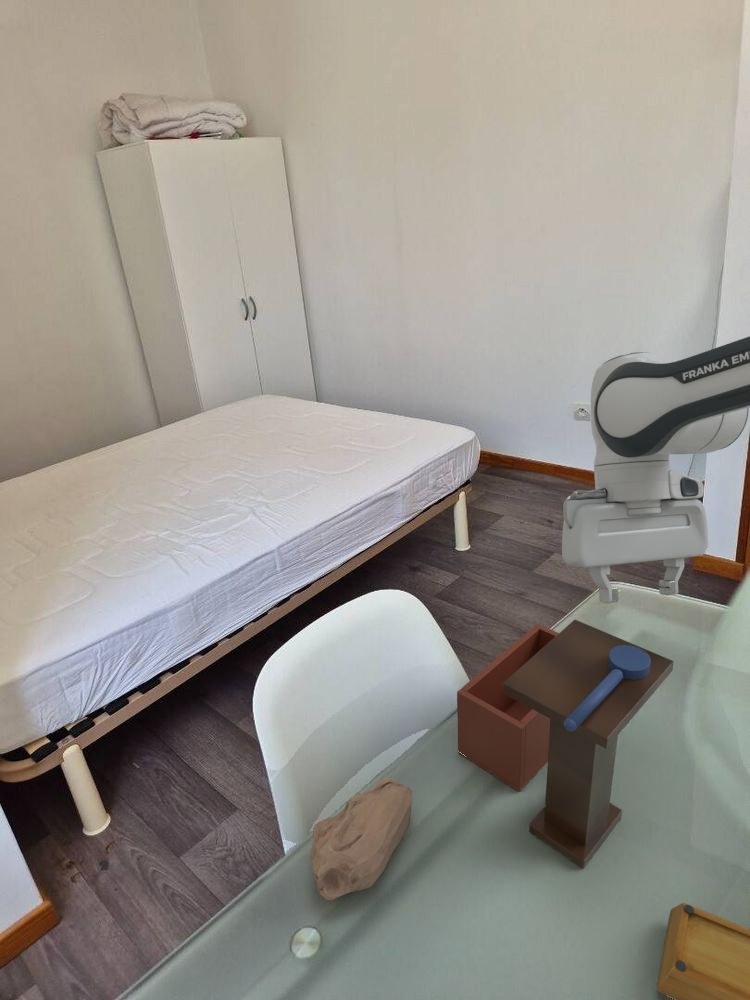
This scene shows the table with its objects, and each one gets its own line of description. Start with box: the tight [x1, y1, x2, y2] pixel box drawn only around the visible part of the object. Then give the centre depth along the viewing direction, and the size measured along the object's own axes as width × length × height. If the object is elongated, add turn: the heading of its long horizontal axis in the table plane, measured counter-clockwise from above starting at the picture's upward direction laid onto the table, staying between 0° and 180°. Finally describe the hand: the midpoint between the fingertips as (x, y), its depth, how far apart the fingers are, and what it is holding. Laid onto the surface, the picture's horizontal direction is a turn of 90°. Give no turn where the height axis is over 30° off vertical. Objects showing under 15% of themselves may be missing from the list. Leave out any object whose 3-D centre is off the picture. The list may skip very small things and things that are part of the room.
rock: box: [309, 777, 413, 901], centre depth 88 cm, size 18×10×10 cm
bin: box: [456, 623, 560, 793], centre depth 104 cm, size 21×11×12 cm, turn 135°
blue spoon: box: [564, 645, 651, 731], centre depth 77 cm, size 16×5×1 cm, turn 135°
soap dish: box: [656, 902, 750, 1000], centre depth 72 cm, size 12×10×5 cm
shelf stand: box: [503, 619, 675, 870], centre depth 86 cm, size 16×13×26 cm
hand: (639, 598), depth 85 cm, fingers open, 8 cm apart
